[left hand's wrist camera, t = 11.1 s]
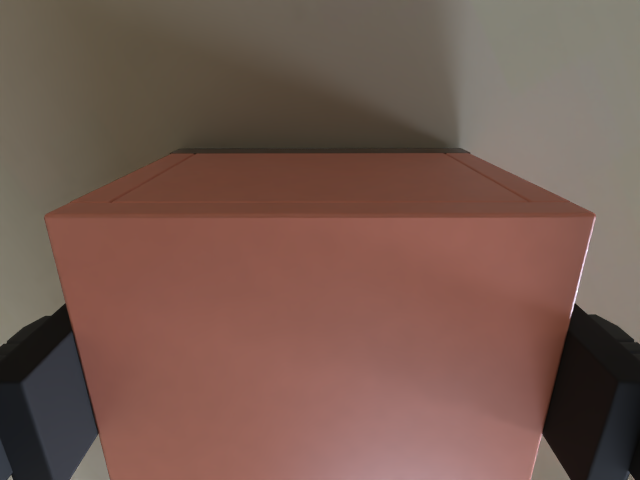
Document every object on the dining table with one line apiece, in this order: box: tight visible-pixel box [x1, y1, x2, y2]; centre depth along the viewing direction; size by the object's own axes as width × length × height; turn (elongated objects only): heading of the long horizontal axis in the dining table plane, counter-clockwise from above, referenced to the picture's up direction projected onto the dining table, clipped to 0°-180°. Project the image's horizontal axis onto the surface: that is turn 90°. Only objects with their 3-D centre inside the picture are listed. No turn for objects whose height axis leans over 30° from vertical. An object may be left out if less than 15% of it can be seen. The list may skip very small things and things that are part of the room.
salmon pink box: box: [44, 148, 596, 480], centre depth 15 cm, size 20×10×8 cm, turn 0°
